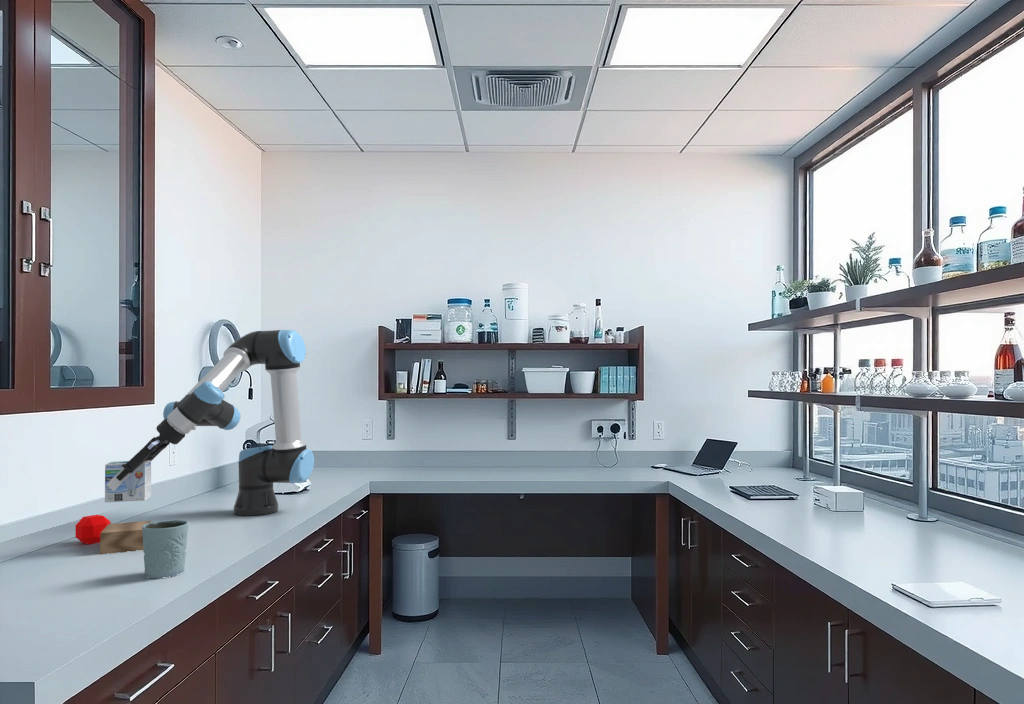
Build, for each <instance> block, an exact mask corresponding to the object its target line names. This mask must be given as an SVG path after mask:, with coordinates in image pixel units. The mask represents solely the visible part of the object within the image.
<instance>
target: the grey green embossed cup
mask: <svg viewBox="0 0 1024 704" xmlns="http://www.w3.org/2000/svg"><path fill="white" fill-rule="evenodd" d="M188 529H189V521H187V520H181V519H178V520H177V519H172V520H171V519H169V520H168V519H167V520H160V521H159V520H158V521H153V522H152V521H151V523H147V524H145V525H143V526H142V533H143V550H142V551H143V565H144V577H145V576H146V577H149V578H148V579H150V578H162V579H164V578H163V577H169V576H174V575H177V574H180V573H182V572H184V573H185V563H186V556H187V555H186V554H187V553H186V550H187V543H188V531H189V530H188ZM146 577H145V578H146ZM174 577H175V576H174ZM169 578H170V577H169Z"/></svg>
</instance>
